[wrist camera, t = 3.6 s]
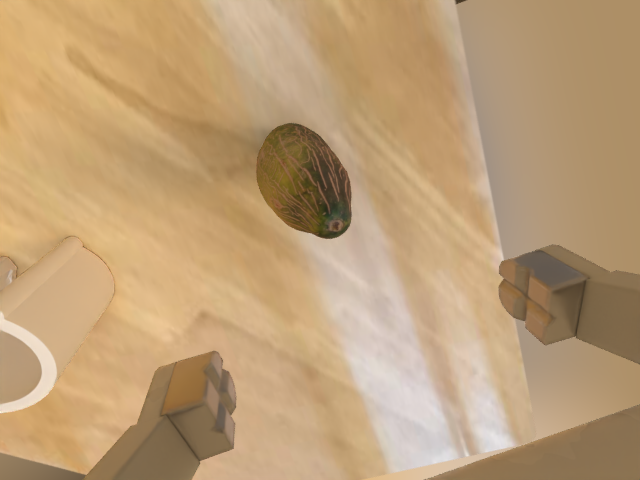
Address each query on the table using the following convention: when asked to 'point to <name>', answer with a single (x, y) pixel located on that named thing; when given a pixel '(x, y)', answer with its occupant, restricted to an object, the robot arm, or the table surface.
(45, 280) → the bracket
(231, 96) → the table surface
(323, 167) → the vegetable
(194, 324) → the table surface
